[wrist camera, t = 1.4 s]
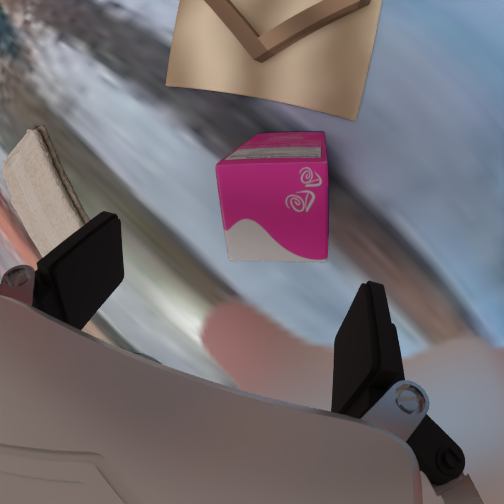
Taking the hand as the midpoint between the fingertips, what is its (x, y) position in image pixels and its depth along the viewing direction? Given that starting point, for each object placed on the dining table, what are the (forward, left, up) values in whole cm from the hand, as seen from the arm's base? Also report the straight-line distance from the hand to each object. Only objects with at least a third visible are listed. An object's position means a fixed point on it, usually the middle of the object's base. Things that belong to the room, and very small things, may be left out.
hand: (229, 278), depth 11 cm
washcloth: (+29, +10, -18) cm, 36 cm away
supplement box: (0, 0, -17) cm, 17 cm away
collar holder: (+4, -15, -17) cm, 23 cm away
